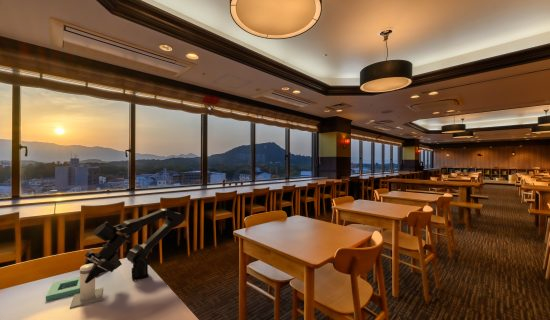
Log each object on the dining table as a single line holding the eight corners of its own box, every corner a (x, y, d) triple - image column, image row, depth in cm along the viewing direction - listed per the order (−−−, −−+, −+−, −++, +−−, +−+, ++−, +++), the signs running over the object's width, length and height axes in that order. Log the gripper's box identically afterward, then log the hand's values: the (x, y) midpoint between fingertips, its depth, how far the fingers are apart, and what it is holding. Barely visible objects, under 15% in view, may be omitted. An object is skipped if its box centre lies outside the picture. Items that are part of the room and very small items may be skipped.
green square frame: (87, 279, 114) (87, 274, 114) (84, 291, 104) (84, 287, 104) (53, 286, 107) (53, 282, 107) (45, 301, 97) (45, 296, 97)
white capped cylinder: (91, 292, 102) (91, 262, 102) (97, 294, 100) (97, 264, 100) (77, 298, 98) (77, 267, 98) (84, 301, 96) (84, 270, 96)
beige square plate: (102, 288, 106) (102, 287, 106) (101, 300, 98) (101, 298, 98) (74, 295, 100) (74, 294, 100) (69, 308, 92) (69, 307, 92)
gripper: (135, 259, 106) (108, 295, 97) (118, 249, 117) (91, 281, 108) (116, 247, 99) (84, 285, 91) (99, 238, 110) (69, 271, 101)
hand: (83, 280), depth 98 cm, fingers open, 6 cm apart
